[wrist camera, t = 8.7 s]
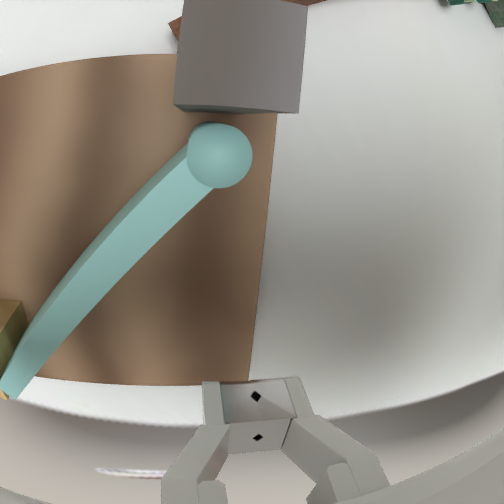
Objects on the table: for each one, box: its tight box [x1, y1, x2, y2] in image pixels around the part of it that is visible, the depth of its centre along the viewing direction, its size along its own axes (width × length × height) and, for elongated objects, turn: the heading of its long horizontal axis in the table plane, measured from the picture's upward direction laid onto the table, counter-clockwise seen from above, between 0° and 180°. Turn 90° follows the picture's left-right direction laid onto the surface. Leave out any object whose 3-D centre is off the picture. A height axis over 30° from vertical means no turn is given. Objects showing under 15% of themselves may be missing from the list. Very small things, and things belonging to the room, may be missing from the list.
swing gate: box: [0, 121, 252, 400], centre depth 12 cm, size 2×16×5 cm, turn 130°
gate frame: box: [0, 0, 308, 400], centre depth 11 cm, size 18×19×9 cm
